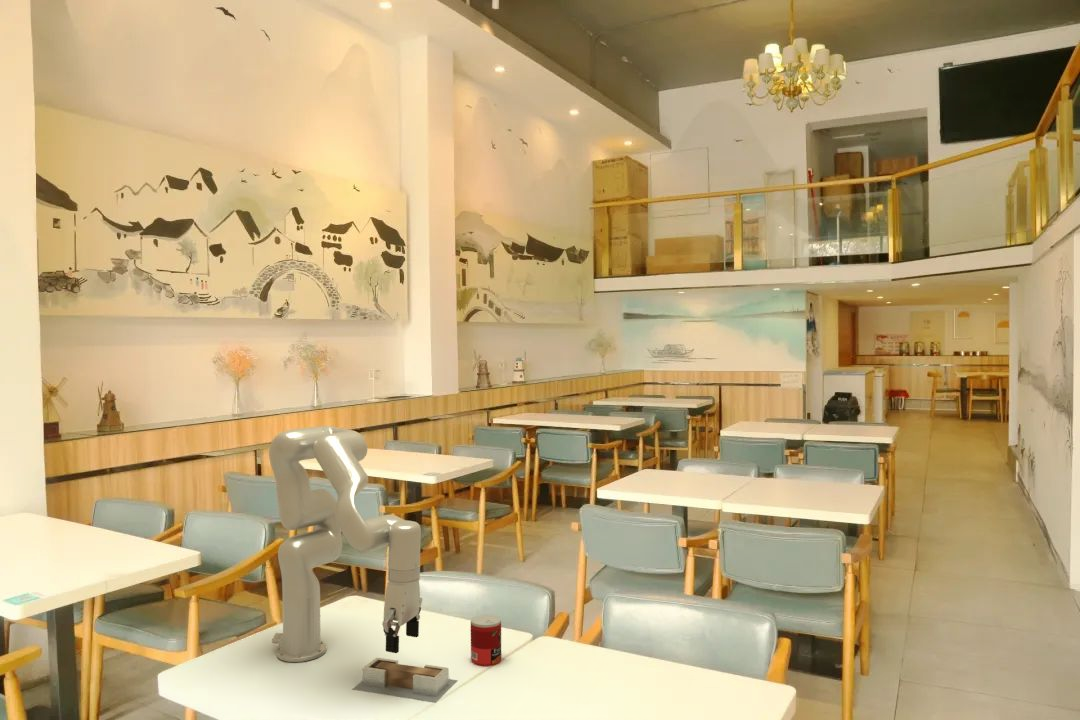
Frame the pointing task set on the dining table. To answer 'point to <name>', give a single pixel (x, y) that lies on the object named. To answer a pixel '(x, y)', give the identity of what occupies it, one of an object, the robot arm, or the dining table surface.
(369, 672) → the endcap
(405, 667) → the slat
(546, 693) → the dining table surface
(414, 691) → the endcap
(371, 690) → the mat
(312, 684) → the dining table surface
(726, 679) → the dining table surface
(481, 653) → the canned food
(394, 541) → the robot arm
